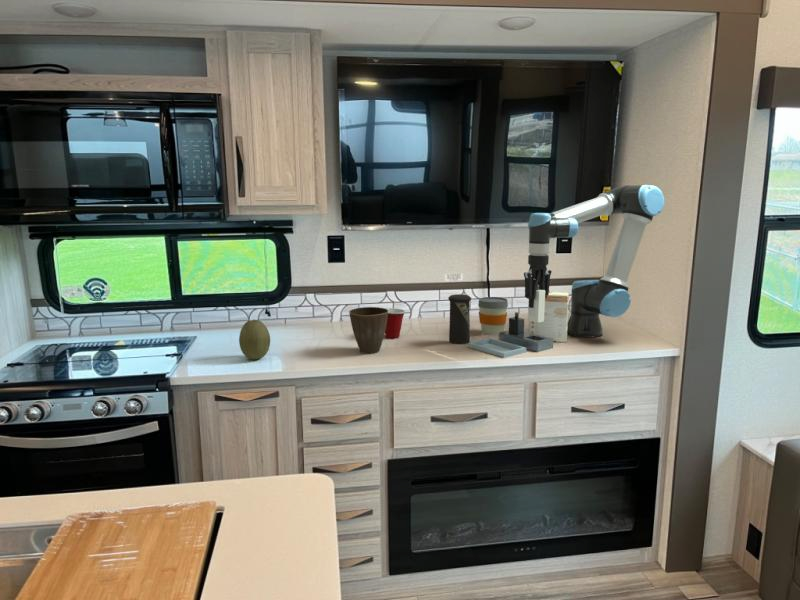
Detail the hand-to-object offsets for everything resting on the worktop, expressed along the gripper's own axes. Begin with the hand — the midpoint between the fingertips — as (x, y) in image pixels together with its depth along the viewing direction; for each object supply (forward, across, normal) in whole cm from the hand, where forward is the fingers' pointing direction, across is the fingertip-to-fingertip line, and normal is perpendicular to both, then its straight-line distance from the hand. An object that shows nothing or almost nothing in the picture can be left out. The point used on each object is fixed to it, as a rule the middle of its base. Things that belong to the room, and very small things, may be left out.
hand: (536, 315), depth 228 cm
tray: (+14, +14, -7) cm, 21 cm away
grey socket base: (+14, 0, -5) cm, 14 cm away
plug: (+2, 0, 0) cm, 2 cm away
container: (+14, +17, -25) cm, 33 cm away
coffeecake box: (+14, -16, -7) cm, 22 cm away
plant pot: (+14, +52, -38) cm, 66 cm away
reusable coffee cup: (+14, -5, -28) cm, 32 cm away
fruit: (+14, +91, -56) cm, 108 cm away
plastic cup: (+14, +32, -50) cm, 61 cm away
